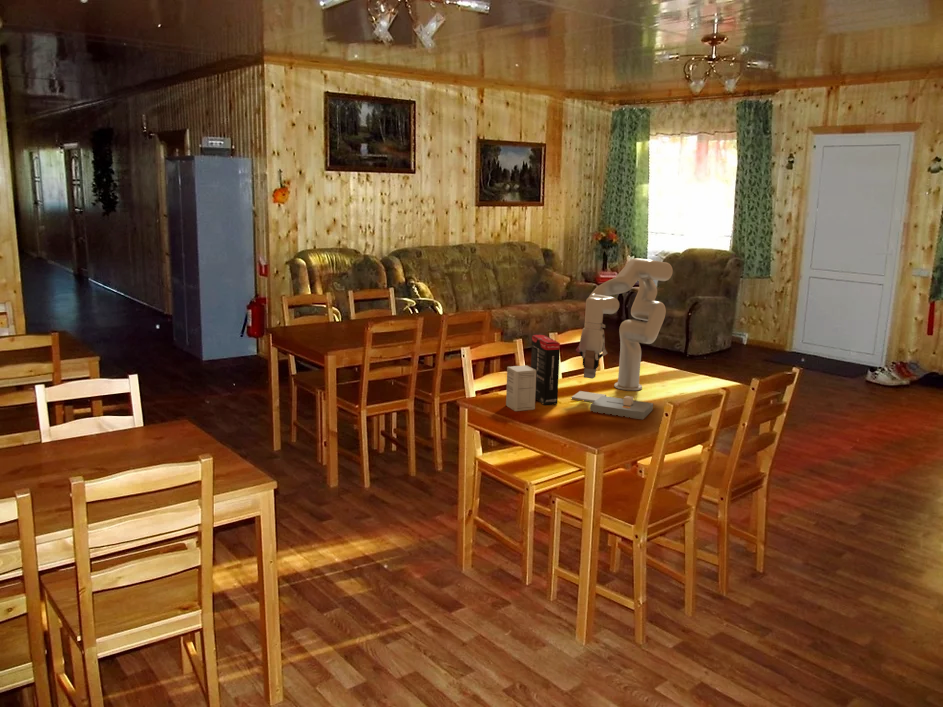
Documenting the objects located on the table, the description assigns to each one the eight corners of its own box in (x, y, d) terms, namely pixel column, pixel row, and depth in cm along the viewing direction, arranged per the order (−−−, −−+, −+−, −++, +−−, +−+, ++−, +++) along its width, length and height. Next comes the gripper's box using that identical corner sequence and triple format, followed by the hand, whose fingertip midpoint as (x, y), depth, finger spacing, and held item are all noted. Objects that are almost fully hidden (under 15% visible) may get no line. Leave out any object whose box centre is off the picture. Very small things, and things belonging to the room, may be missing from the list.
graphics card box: (558, 405, 338) (561, 341, 332) (543, 406, 336) (546, 342, 330) (542, 394, 354) (545, 334, 348) (528, 395, 352) (531, 334, 346)
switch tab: (625, 402, 333) (626, 395, 333) (632, 403, 332) (633, 396, 331) (623, 404, 330) (623, 397, 329) (630, 405, 328) (630, 398, 328)
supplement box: (525, 403, 339) (527, 364, 335) (535, 409, 330) (537, 369, 327) (505, 405, 335) (506, 366, 331) (514, 411, 327) (516, 371, 323)
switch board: (601, 402, 344) (602, 395, 344) (652, 410, 335) (653, 402, 334) (590, 411, 330) (590, 404, 329) (643, 419, 321) (643, 412, 320)
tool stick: (586, 375, 351) (588, 344, 348) (595, 376, 349) (597, 345, 346) (583, 377, 347) (585, 345, 345) (592, 378, 346) (594, 346, 343)
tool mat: (579, 393, 359) (580, 391, 358) (606, 396, 353) (606, 394, 353) (571, 399, 348) (571, 397, 348) (597, 403, 343) (598, 401, 343)
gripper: (614, 327, 344) (611, 368, 347) (577, 322, 351) (574, 363, 354) (609, 329, 337) (606, 371, 341) (571, 325, 344) (569, 366, 348)
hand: (590, 367), depth 348 cm, fingers closed on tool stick, 4 cm apart
